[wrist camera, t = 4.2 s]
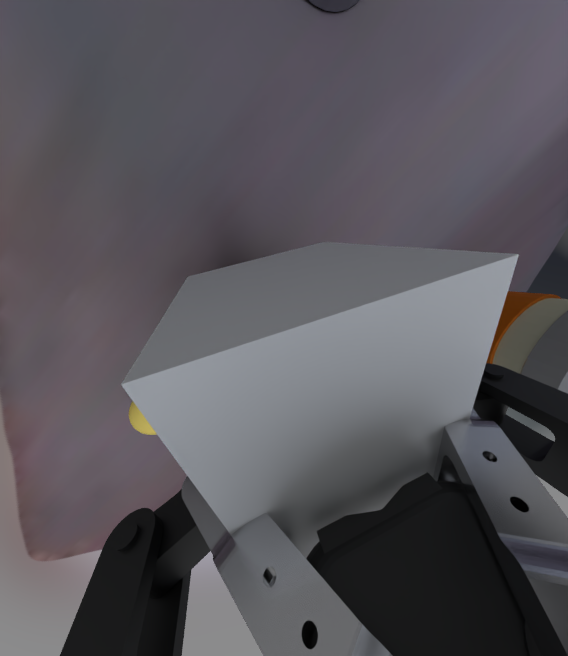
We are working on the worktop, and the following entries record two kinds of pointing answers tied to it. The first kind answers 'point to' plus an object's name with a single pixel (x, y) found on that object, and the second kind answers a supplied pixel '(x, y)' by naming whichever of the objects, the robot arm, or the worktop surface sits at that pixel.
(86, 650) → the robot arm
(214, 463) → the white rectangular block
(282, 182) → the worktop surface
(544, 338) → the reusable coffee cup
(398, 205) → the worktop surface
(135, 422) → the ball
